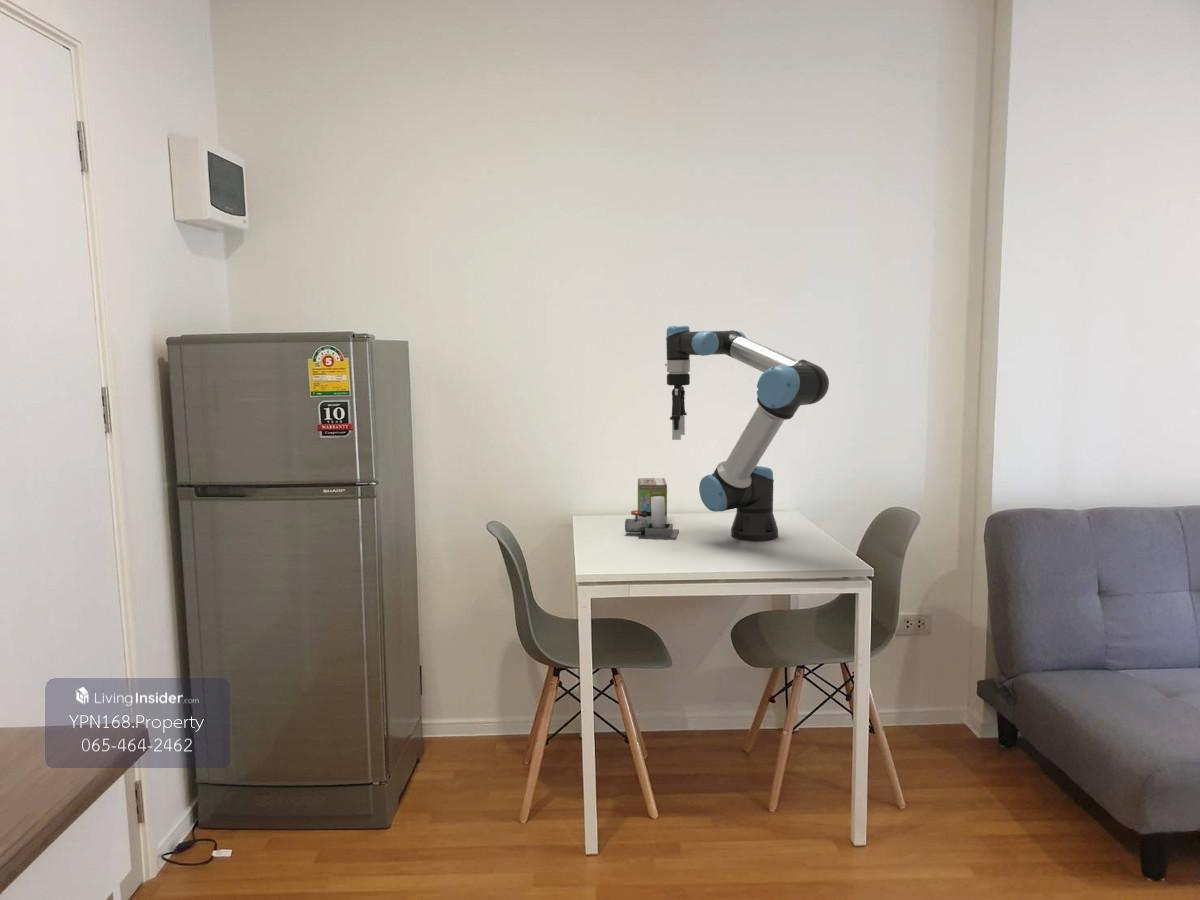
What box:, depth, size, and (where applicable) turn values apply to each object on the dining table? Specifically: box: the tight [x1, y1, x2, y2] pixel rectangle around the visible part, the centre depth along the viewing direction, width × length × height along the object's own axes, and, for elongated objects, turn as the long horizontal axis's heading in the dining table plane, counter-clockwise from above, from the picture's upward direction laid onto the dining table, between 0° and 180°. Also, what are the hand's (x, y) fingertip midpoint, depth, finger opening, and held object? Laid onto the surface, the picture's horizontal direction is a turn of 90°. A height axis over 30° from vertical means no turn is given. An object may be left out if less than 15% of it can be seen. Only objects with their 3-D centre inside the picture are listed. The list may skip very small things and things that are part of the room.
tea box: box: [637, 477, 668, 524], centre depth 302 cm, size 15×10×15 cm
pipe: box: [651, 496, 666, 528], centre depth 281 cm, size 4×4×12 cm
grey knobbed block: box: [624, 509, 680, 541], centre depth 282 cm, size 17×12×8 cm
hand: (678, 437), depth 284 cm, fingers open, 13 cm apart
